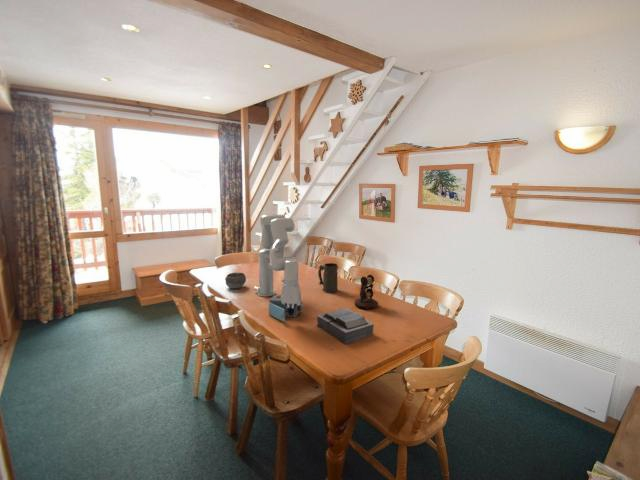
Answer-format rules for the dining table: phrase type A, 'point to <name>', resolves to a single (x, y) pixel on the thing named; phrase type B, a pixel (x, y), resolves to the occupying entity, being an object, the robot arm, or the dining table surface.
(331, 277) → the beer stein
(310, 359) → the dining table surface
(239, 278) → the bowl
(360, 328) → the grey stacked slabs
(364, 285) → the brown figurine
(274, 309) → the side door
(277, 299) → the camera body
